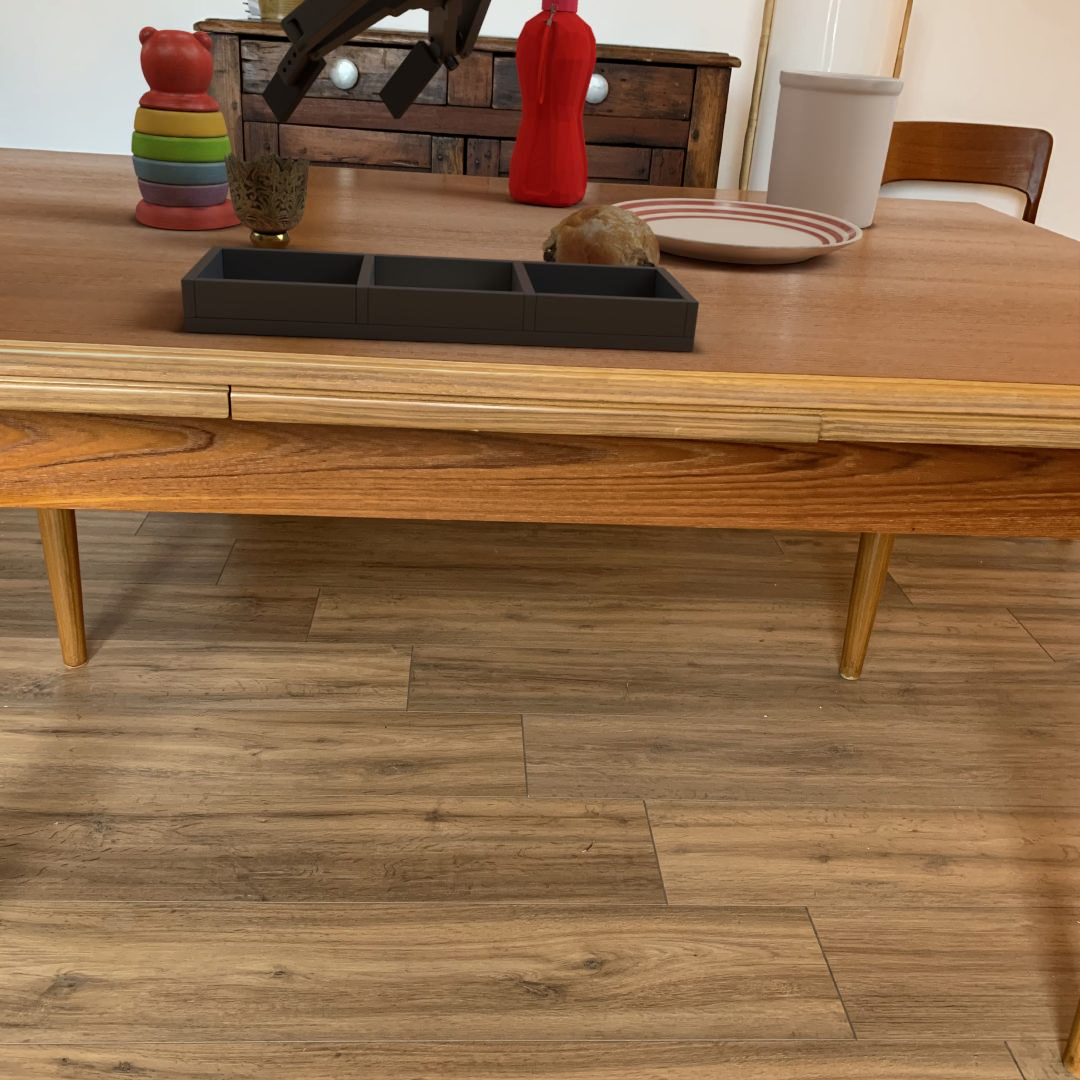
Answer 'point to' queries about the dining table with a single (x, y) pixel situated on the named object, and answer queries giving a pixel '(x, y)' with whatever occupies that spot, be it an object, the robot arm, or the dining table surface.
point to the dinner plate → (741, 230)
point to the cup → (268, 196)
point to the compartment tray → (437, 299)
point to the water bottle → (552, 106)
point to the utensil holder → (832, 142)
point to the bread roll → (602, 239)
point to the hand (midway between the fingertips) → (334, 107)
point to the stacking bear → (180, 136)
